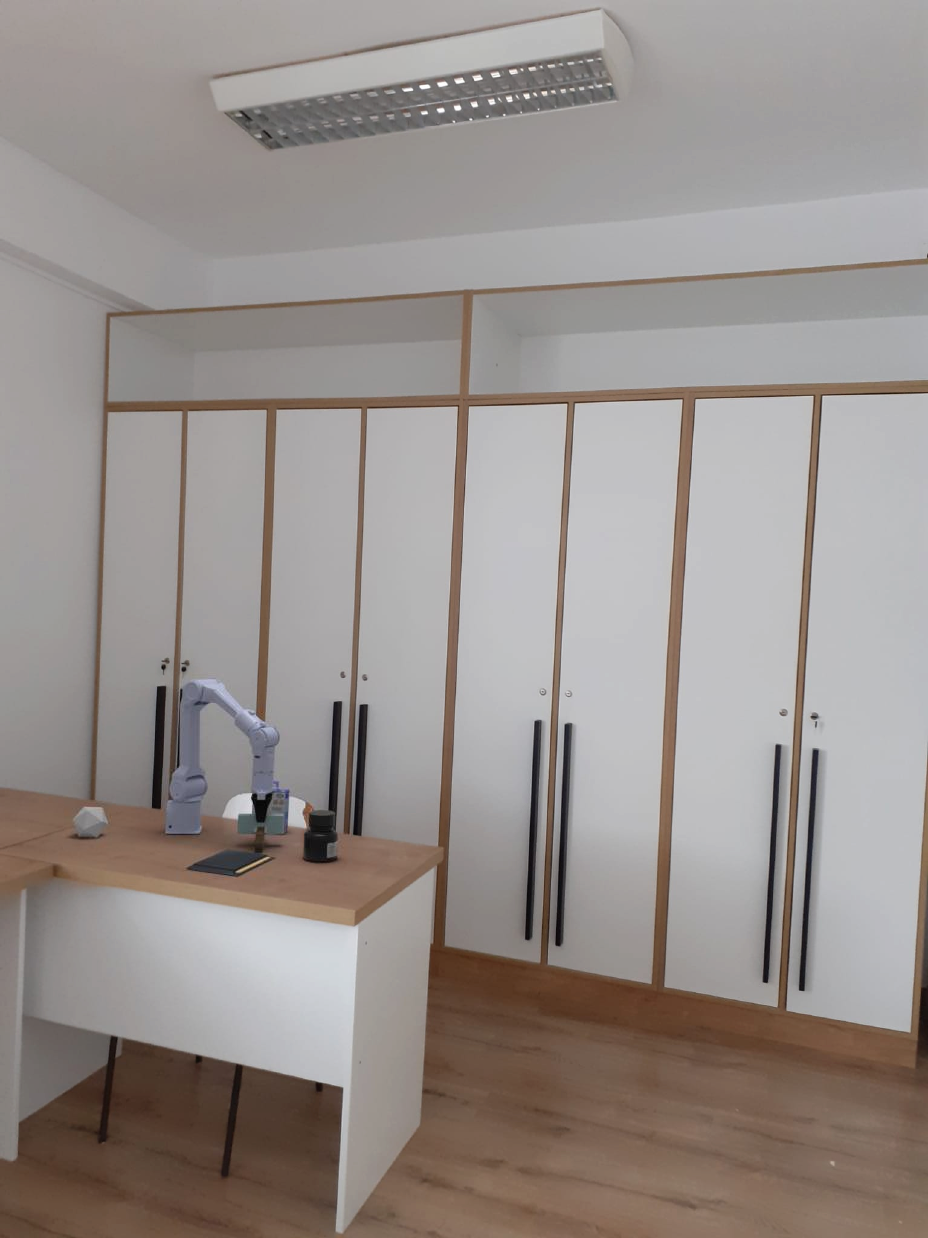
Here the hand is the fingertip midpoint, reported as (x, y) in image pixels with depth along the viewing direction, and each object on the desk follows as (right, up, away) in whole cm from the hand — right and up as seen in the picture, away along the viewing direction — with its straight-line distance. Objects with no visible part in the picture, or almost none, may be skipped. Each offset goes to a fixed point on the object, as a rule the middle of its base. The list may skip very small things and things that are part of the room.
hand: (260, 821), depth 256 cm
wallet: (-3, -8, -19) cm, 20 cm away
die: (-47, -5, +2) cm, 48 cm away
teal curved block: (0, -3, 0) cm, 3 cm away
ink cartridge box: (-1, -7, +16) cm, 18 cm away
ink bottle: (+18, -8, -10) cm, 22 cm away
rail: (0, -7, 0) cm, 7 cm away
